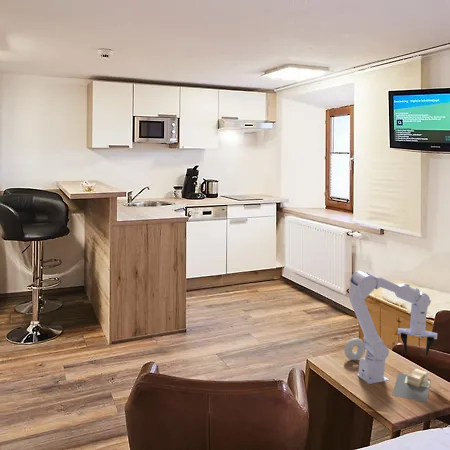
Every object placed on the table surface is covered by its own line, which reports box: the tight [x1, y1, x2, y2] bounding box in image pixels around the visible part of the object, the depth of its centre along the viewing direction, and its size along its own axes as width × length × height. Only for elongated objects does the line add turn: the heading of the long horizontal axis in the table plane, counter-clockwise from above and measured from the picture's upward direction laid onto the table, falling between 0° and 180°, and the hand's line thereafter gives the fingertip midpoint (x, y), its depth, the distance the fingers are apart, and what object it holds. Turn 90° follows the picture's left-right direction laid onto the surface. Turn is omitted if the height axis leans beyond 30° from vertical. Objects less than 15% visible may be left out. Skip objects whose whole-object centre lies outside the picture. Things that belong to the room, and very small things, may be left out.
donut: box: [343, 337, 366, 361], centre depth 206 cm, size 10×4×10 cm, turn 108°
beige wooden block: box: [407, 368, 428, 387], centre depth 186 cm, size 8×4×3 cm, turn 135°
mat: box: [391, 372, 431, 404], centre depth 182 cm, size 20×12×1 cm, turn 154°
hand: (416, 353), depth 191 cm, fingers open, 7 cm apart
